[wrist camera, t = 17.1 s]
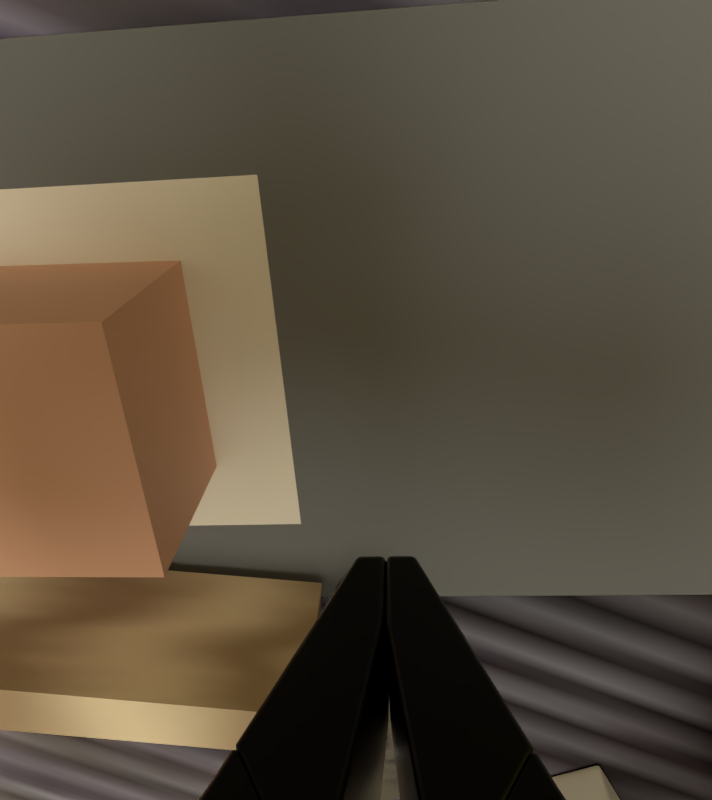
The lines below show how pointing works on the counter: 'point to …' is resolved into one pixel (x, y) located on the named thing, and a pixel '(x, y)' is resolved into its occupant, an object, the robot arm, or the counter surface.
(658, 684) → the counter surface
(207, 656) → the tan wooden bar
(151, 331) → the block
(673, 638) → the counter surface
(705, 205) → the grey panel
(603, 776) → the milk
